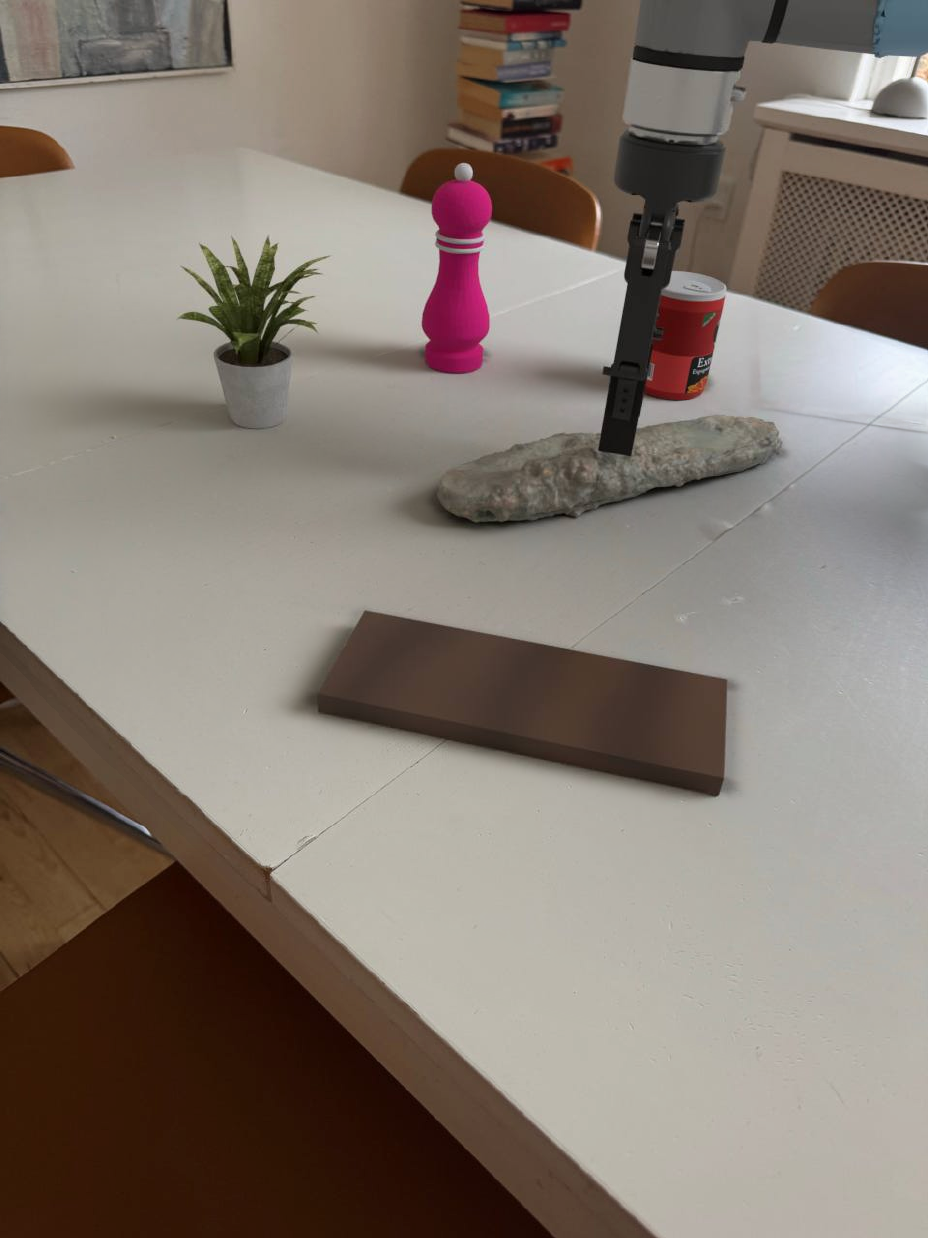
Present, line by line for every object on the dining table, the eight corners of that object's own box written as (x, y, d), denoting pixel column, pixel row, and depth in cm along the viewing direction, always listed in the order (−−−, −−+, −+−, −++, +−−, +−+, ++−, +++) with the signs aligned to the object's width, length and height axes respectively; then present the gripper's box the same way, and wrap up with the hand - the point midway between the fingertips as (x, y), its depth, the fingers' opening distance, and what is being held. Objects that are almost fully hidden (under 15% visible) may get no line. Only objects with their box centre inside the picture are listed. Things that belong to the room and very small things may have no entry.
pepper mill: (473, 380, 101) (487, 174, 89) (410, 367, 103) (415, 164, 91) (495, 357, 107) (511, 161, 95) (435, 345, 109) (442, 151, 97)
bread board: (722, 697, 62) (727, 679, 61) (719, 796, 55) (724, 778, 54) (364, 627, 66) (364, 609, 65) (317, 712, 58) (316, 693, 57)
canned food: (700, 406, 99) (723, 299, 92) (623, 392, 101) (640, 286, 94) (709, 380, 105) (731, 277, 98) (636, 367, 107) (653, 265, 100)
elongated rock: (801, 483, 89) (728, 444, 96) (816, 429, 86) (740, 392, 94) (472, 546, 74) (414, 493, 81) (478, 482, 71) (417, 433, 78)
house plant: (343, 455, 86) (340, 267, 76) (182, 458, 83) (158, 266, 74) (334, 390, 97) (330, 220, 87) (192, 392, 95) (172, 217, 85)
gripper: (726, 164, 60) (656, 493, 73) (728, 119, 76) (670, 394, 89) (605, 149, 61) (558, 476, 74) (633, 108, 77) (590, 381, 90)
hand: (620, 431), depth 82 cm, fingers open, 8 cm apart
